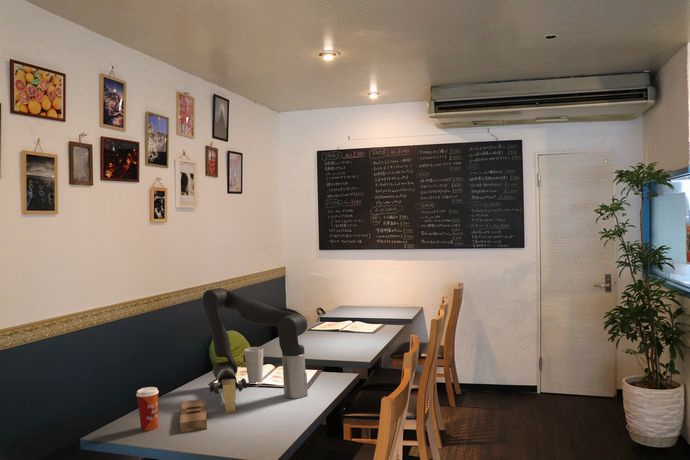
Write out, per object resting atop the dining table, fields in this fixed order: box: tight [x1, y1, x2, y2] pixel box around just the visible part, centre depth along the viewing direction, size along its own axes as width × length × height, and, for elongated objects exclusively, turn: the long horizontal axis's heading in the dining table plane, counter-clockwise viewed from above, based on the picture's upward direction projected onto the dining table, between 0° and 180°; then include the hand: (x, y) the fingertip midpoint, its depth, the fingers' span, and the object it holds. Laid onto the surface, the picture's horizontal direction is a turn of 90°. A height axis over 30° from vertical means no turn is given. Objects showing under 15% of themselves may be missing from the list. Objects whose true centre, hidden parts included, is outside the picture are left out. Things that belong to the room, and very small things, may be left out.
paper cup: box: [135, 386, 160, 432], centre depth 205 cm, size 8×8×14 cm
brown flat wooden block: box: [179, 398, 208, 433], centre depth 212 cm, size 9×24×4 cm, turn 15°
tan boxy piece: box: [222, 379, 237, 414], centre depth 220 cm, size 5×7×11 cm, turn 15°
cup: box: [243, 346, 264, 384], centre depth 254 cm, size 8×8×16 cm
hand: (228, 390), depth 220 cm, fingers open, 8 cm apart
